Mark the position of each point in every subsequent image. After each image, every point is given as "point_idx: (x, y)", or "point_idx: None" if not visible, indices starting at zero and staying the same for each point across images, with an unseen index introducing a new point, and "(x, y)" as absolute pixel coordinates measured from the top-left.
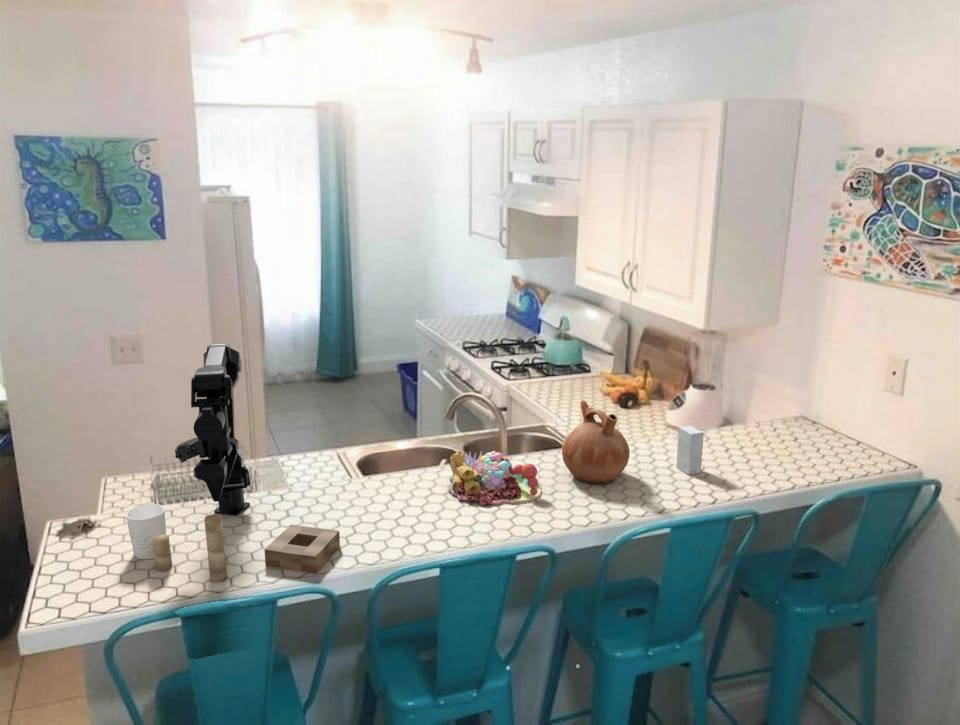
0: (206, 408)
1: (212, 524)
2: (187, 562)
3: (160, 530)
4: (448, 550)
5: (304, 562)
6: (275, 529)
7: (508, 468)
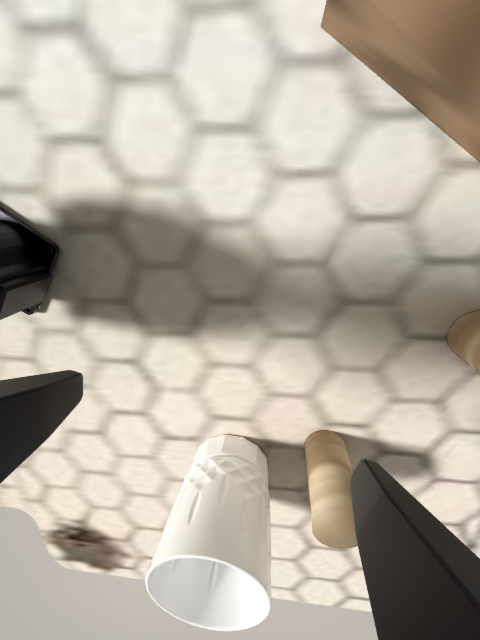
0: None
1: None
2: (323, 398)
3: (254, 510)
4: None
5: None
6: (193, 104)
7: None
